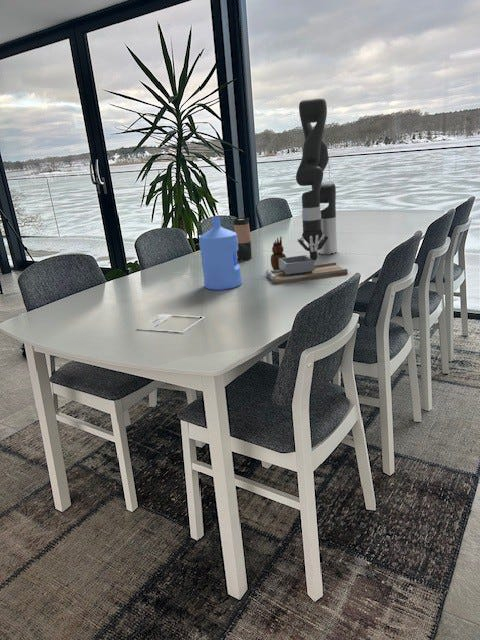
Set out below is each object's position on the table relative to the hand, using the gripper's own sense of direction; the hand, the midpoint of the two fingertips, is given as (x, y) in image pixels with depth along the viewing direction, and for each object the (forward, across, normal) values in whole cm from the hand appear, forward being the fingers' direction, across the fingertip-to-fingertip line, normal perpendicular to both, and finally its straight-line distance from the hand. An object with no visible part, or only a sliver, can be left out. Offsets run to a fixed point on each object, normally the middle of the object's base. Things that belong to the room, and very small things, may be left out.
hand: (313, 260), depth 208 cm
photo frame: (+7, +62, +37) cm, 73 cm away
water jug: (+6, +38, -2) cm, 39 cm away
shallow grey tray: (+5, +7, 0) cm, 9 cm away
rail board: (+6, +4, 0) cm, 7 cm away
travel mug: (+6, +21, -47) cm, 52 cm away
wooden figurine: (+6, +11, -15) cm, 20 cm away
